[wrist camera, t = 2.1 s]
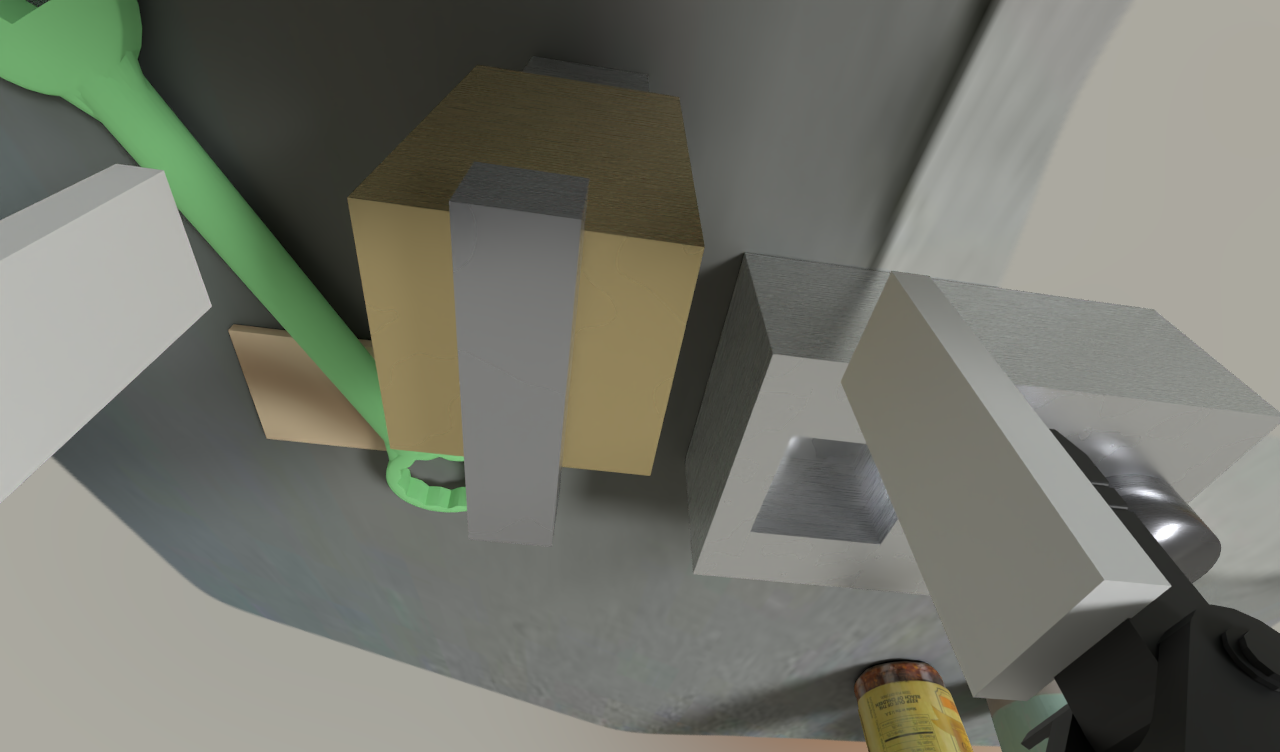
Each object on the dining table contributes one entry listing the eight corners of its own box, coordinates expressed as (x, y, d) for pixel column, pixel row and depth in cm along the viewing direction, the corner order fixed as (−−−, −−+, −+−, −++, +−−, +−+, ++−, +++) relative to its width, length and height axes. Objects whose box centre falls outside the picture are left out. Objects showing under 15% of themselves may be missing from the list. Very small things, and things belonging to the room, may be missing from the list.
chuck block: (744, 252, 21) (939, 951, 7) (1153, 309, 23) (1986, 987, 9) (685, 461, 28) (725, 1024, 14) (1001, 494, 29) (1323, 1037, 15)
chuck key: (512, 0, 16) (290, 179, 6) (676, 28, 17) (726, 240, 6) (510, 206, 20) (370, 530, 10) (644, 224, 20) (644, 555, 10)
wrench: (36, -186, 15) (-104, -82, 16) (-36, -203, 13) (-187, -86, 14) (527, 480, 28) (432, 510, 29) (521, 512, 26) (421, 542, 28)
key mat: (233, 324, 23) (228, 330, 23) (441, 349, 24) (438, 354, 24) (271, 432, 27) (266, 438, 27) (449, 450, 28) (447, 457, 27)
